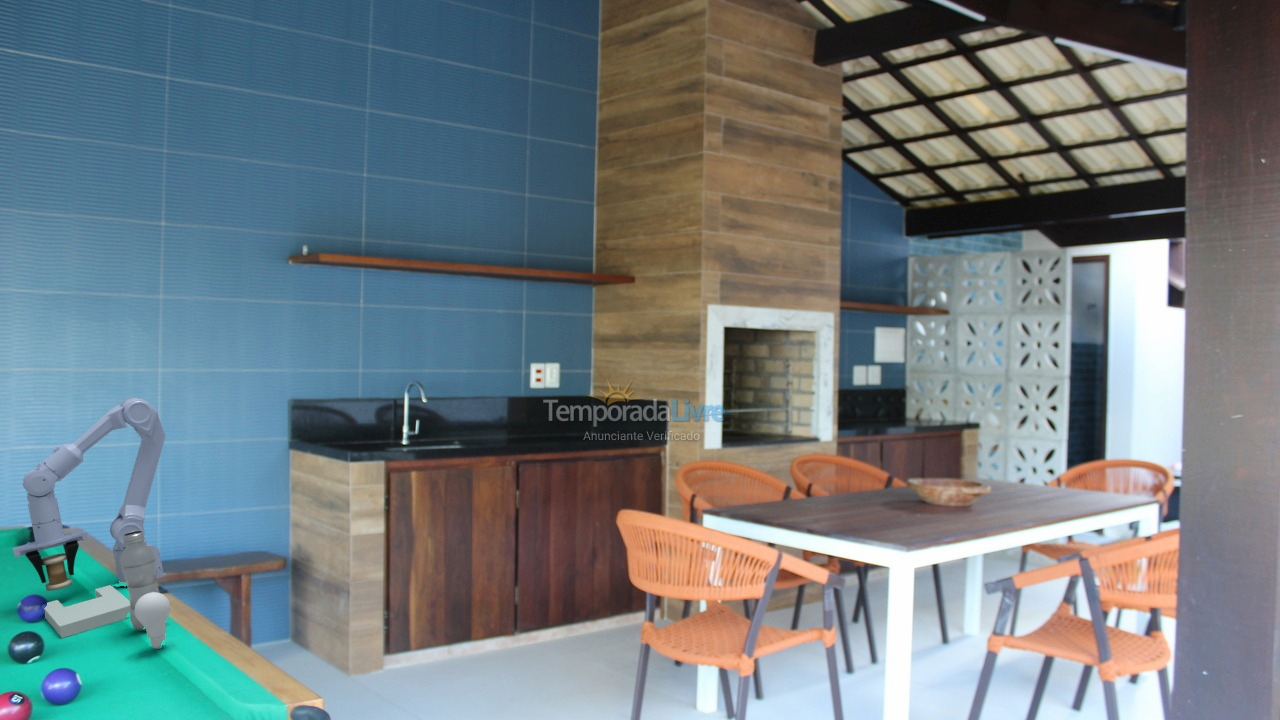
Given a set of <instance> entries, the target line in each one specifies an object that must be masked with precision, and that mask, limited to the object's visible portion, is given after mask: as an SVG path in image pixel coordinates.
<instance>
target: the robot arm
mask: <svg viewBox="0 0 1280 720" xmlns="http://www.w3.org/2000/svg"><path fill="white" fill-rule="evenodd" d="M126 423H127V424H128V425H130V426H131V427H132V428H133V429H134V431H135V432H136V434H137V435H138V436H139V437H140V439H141V440H140V443H139V448H138V451H137V454H136V455H137V456H136V458H135V462H134V464H133V469H132V472H131V476H130V478H129V482H128V486H127V489H126V491H125V492H126V494H125V496H124V499H123V500H124V501H123V503H122V505H121V506H120V509H119V511H118V514H117V516H116V517H115V519H113V521H112V522H111V523H110V527H109V533H110V535H111V537H112V539H114V540H115V543H114V545H113V546H112V552H113V557H114V561H115V568H116V573H117V578H118V582H119V581H120V582H126V579H125V577H124V574H123V571H122V569H121V566H120V557H121V555H122V552H123V551H124V549H125V547H126V545H124V539H123V535H124V534H126V533H129V532H133V531H143V534H144V535H145V534H146V533H145V527H144V522H145V517H146V506H147V503H148V500H149V497H150V492H151V489H152V485H153V481H154V479H155V475H156V471H157V468H158V465H159V461H160V457H161V455H162V454H161V453H162V451H163V446H164V443H165V440H166V433H165V431H164V428H163V425H162V423H161V420H160V416H159V412H158V410H156V409H155V408H154V406H153V405H152V404H151V403H150V402H149V401H147V400H145V399H142V398H140V397H136V396H135V397H134V396H133V397H128V398H125V399H124V400H122V402H120V404H117V405H116V406H115V407H113V408H111V409H110V410H109V411H108V412H107V413H105V414H104V415H102V416H101V418H100V419H98V420H97V421H96V422H95V423H94V424H93V425H92V426H91V427H90V428H89V429H87V430H86V431H85V432H84V433H83V434H82V435H81V436H80V437H79V438H78V439H76V440H75V441H74V442H73V443H63V444H61V445H60V446H59V445H56V446H54V448H53V449H52V451H53V452H52V453H51V454H50V455H48V456H47V457H46V458H45V459H44V460H43V461H42V462H37V463H36V464H35V467H36V468H33V469H31V470H29V471H28V472H27V473H26V474H25V475H24V477H23V480H22V486H23V488H24V489H25V491H26V492H27V495H26V499H27V502H28V504H27V506H28V507H27V508H28V512H29V516H30V522H31V526H32V531H33V536H34V541H32V542H28V543H26V544H22V545H19V546H15V547H12V552H13V555H14V557H15V558H19V557H22V556H25V557H26V558H27V559H28V561H29V562H30V563H31V565H32V566H33V568H35V571H36V572H37V575H38V577H39V579H40V582H41V583H42V584H47V579H46V575H45V572H44V568H43V565H42V560H41V559H42V555H41V554H40V551H41V552H42V551H44V550H48V549H52V548H57V547H59V546H62V547H63V550H64V553H66V554H67V559H66V564H67V572H68V575H69V576H74V575H75V573H74V572H75V563H76V561H75V560H76V557H77V553H78V550H79V546H80V544H79V542H80V541H86V540H88V539H89V538H88V534H87V531H86V530H79V531H75V532H69V533H64V528H63V523H62V522H63V521H62V518H61V511H60V507H59V504H58V499H57V498H56V494H55V490H54V489H55V487H56V482H60V481H62V479H64V478H65V477H66V476H67V475H69V474H70V473H71V472H73V471H74V469H76V468H77V467H78V466H79V465H80V464H82V463H83V462H84V454H85V453H86V452H87V451H88V450H90V449H91V448H92V447H93V446H95V445H96V444H97V443H98V442H99V441H101V440H102V439H103V438H104V437H106V436H107V435H109V434H110V433H111V432H112V431H115V430H116V431H117V430H121V429H124V428H127V427H128V425H127V424H126ZM144 543H145V544H146V545H147V546H149V547H150V548H151V549H152V550H153V552H154V554H155V561H156V577H157V580H160V579H162V578H163V577H165V576H167V573H164V569H163V564H162V563H163V562H162V558H161V553H160V550H159V548H158V547H157V546H155V545H152V544H149V543H148V542H147V539H145V540H144Z"/></svg>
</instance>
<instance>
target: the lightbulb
mask: <svg viewBox="0 0 1280 720" xmlns="http://www.w3.org/2000/svg"><path fill="white" fill-rule="evenodd" d="M170 610H171V603H170V600H169V598H168V597H167V596H166V595H164V594H163V593H160V592H159V593H157V592H151V593H147V594H145V595H143V596H142V597H141V598H140V599H139V600H138V601H137V603H136V605H135V609H134V612H135V616H136V618H137V619H138V621H139V622H140V623H141V624H142V625H143V626H144V627H145V629H146V630H145V631H146V634H147V637H148V638H149V641H150V645H151V648H153V649H157V650H159V649H160V650H161V648H160V647H161V643H162V641H163V640H165V639H166V640H167V638H166V633H167V629H166V627H167V624H166V623H167V620H168V617H169V614H170Z"/></svg>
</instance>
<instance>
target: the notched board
mask: <svg viewBox="0 0 1280 720" xmlns="http://www.w3.org/2000/svg"><path fill="white" fill-rule="evenodd" d="M111 585H112V584H110V585H105V586H102V587H98V588H95V589H94V591H95V596H96V597H95V598H92V599H89V600H85V601H81V602H77V603H74V604H72V605H68V606H67V605H66V606H64V605H63V604H62V603H61V602H60V601H59V600H58V599H56V600H52V601H49V602H46V603H47V606H46V607H45V608H44V610H45V617H44V618H45V619H46V621H47V622H48V623H49V624H50V625H51V627H52V628H53V629H54V631H55V632H57V634H58V635H59V637H60V638H61V639H64V638H67V637H70V636H71V637H72V636H74V635H77V634H80V633H83V632H87V631H89V630H90V631H91V630H93V629H96V628H100V627H103V626H107V625H110V624H113V623H116V622H117V623H118V622H120V621H123V620H127V619H126V616H127V614H128V613H129V612H130V609H131V607H130V599H128V598H127V597H126V596H124V595H123V594H122V593H121V592H120V591H118V590H117V589H116V587H112V586H111Z"/></svg>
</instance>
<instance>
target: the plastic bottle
mask: <svg viewBox="0 0 1280 720" xmlns="http://www.w3.org/2000/svg"><path fill="white" fill-rule="evenodd" d="M123 539H124V545H126V547H125V549H124V551H123V552H122V555H121V557H120V566H121V569H122V571H123V574H124V577H125V579H126V583H127V587H126V588H127V591H128V595H129V601H130V607H131V609H130V618H129V619H130V622H131V625H132V627H133V628H134V629H135V630H137V631H143V630H142V629H143V628H144V626H143V625H142V624H141V623H140V622H139V621H138V619H137V618H136V616H135V612H134V609H135V605H136V603H137V601H138V600H139V599H140V598H141V597H142V596H143V595H145V594H147V593H151V592H157V593H160V589H159V586H158V581H157V580H158V579H157V577H156V561H155V554H154V552H153V550H152V549H151V548H150V547H149V546H147V545H146V544H145V543H144V540H146V538H145V534H143V531H133V532H129V533H126V534H124V535H123Z"/></svg>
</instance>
